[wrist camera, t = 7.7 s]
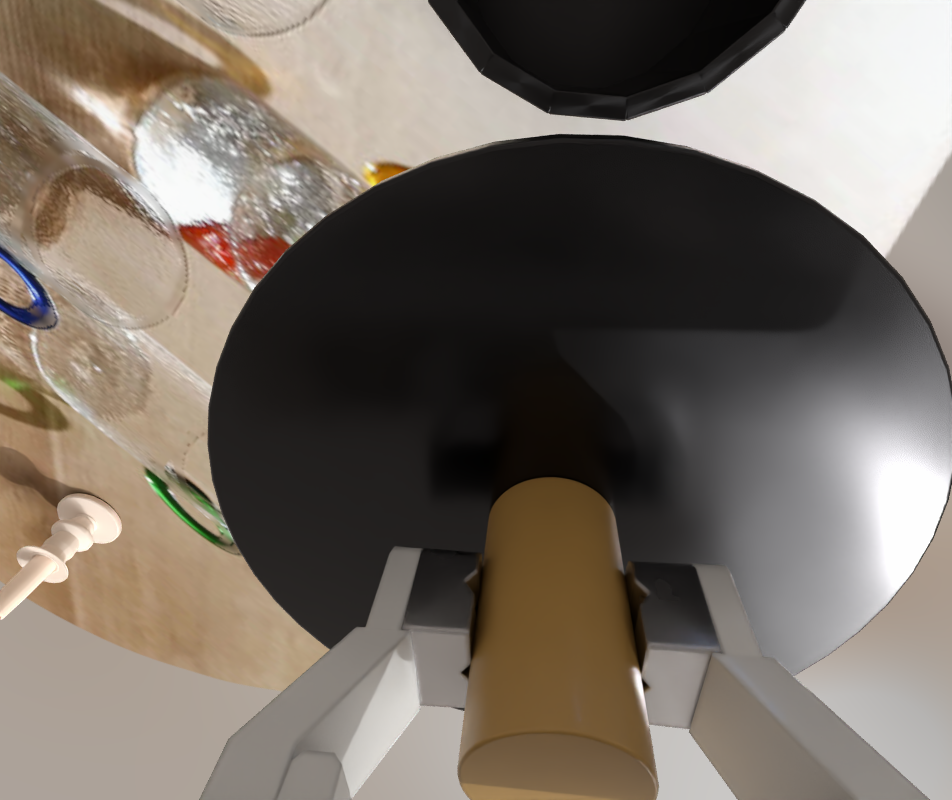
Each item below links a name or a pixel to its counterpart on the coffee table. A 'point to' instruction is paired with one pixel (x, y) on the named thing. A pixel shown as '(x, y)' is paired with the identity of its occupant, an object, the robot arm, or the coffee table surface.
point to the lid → (582, 425)
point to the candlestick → (61, 546)
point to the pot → (612, 48)
